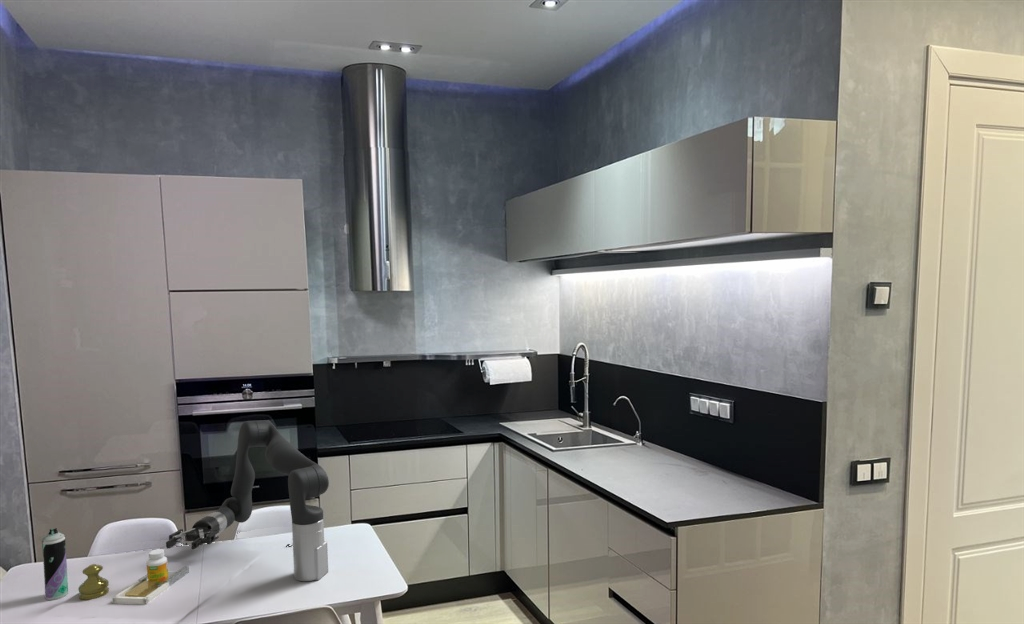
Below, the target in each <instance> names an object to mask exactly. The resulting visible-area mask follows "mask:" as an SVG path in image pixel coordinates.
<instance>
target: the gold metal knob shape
mask: <svg viewBox="0 0 1024 624" xmlns="http://www.w3.org/2000/svg"><path fill="white" fill-rule="evenodd" d="M103 569H104V566H103V565H101V564H95V563H93V564H89V565H88V566H86V567H85V568H84V569H83V570H82V574H83V575H86V579H85V580H84V581H83V582H82V583H81V584H80V585H79V586H78V593H79V594H78V598H79V600H80V601H92V600H95V599H99V598H101V597H104V596H105V595H107V594H108V593H109V590H110V588H109V582H110V581H109V580H108V579H107V578H103V576H100V572H101V571H103Z"/></svg>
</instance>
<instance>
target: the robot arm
mask: <svg viewBox="0 0 1024 624" xmlns="http://www.w3.org/2000/svg"><path fill="white" fill-rule="evenodd" d="M237 437H238V438H237V448H236V460H235V461H236V462H235V471H234V476H233V479H232V480H233V481H232V484H231V488H230V495H231V496H232V497H228V498H226V499H224V501H223V502H222V504H221V506H220V507H219V508H218V509H217V510H216V511H214V512H212V513H208V514H207V515H206V516H203V517H202V518H200V519H199V520H197V521H196V522H194V524H193V526H192V528H190V529H188V530H185V531H184V529H183V528H181V529H178V530H176V531H175V532H173V533H171V534H169V535H168V540H167V541H166V542H165V547H166V549H171V548H173V547H174V546H176V545H177V544H182V545H183V544H187V543H190V542H191V544H190V545H191V550H195V549H197V548H199V547H200V546H204V545H205V544H206V545H211V544H212V543H214V542H215V541H216V540H218V539H219V535H220V534H221V533H222V532H223V531H224V530H226V529H227V528H229V527H230V526H231V525H233V524H234V522H237V523H241V524H242V523H243V524H244V523H245V522H247V521H248V520H249V519H250V517H251V516H252V513H253V498H252V495H253V493H252V491H253V487H254V483H255V480H256V479H255V478H256V473H255V470H254V467H253V465H252V463H251V461H250V458H249V449H250V448H260V447H261V448H262V447H263V448H264V447H265V448H266V449H265V452H264V453H265V454H264V456H265V460H266V462H267V464H268V465H270V466H271V468H273V470H274V471H276V472H278V473H279V474H283V475H285V476H288V478H287V486H288V487H287V488H288V495H289V510H290V516H291V526H292V527H291V531H292V533H291V535H292V544H293V545H292V546H293V547H292V553H293V554H292V557H293V558H292V559H293V576H294V579H295V580H296V581H300V582H310V581H319V580H321V579H323V577H324V576H325V575H326V574H327V573H328V572H329V554H328V541H325V525H324V521H325V520H324V510H323V508H322V507H320V506H317V505H309V504H307V503H306V499H307V500H308V499H310V498H315V497H318V496H321V495H323V494H325V493H326V492H327V491H328V488H329V487H330V482H329V481H330V480H329V476H328V473H327V472H326V470H325V469H324V468H323V467H322V466H321V465H320V464H319V463H316V462H315V461H313V460H311V459H309V458H308V457H307V456H305V455H304V453H301V451H299V450H298V449H297V448H296V447H295V446H294V444H292V442H290V441H288V440H287V439H286V438H285V437H284V436H283V435H282V434H281V433H280V432H279V429H277V427H276V426H275V425H274V423H273V422H271V421H270V420H264V419H263V420H261V419H260V420H247V421H244V422H242V423H241V425H240V427H239V430H238V436H237Z"/></svg>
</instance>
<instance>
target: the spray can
mask: <svg viewBox="0 0 1024 624" xmlns="http://www.w3.org/2000/svg"><path fill="white" fill-rule="evenodd" d="M41 545H42V547H41V548H42V559H43V561H42V562H43V578H44V579H43V580H44V594H45V601H55V600H58V599H59V600H60V599H62V598H65V597H67V596H68V595H69V585H68V584H69V583H68V566H67V565H68V564H67V549H66V548H67V547H66V537H65V534H64V533H61V532H60V531H58V529H57V528H56V527H55V528H49V531H48V533H47V535H46V536H44V537H43V538H42V541H41Z"/></svg>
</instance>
